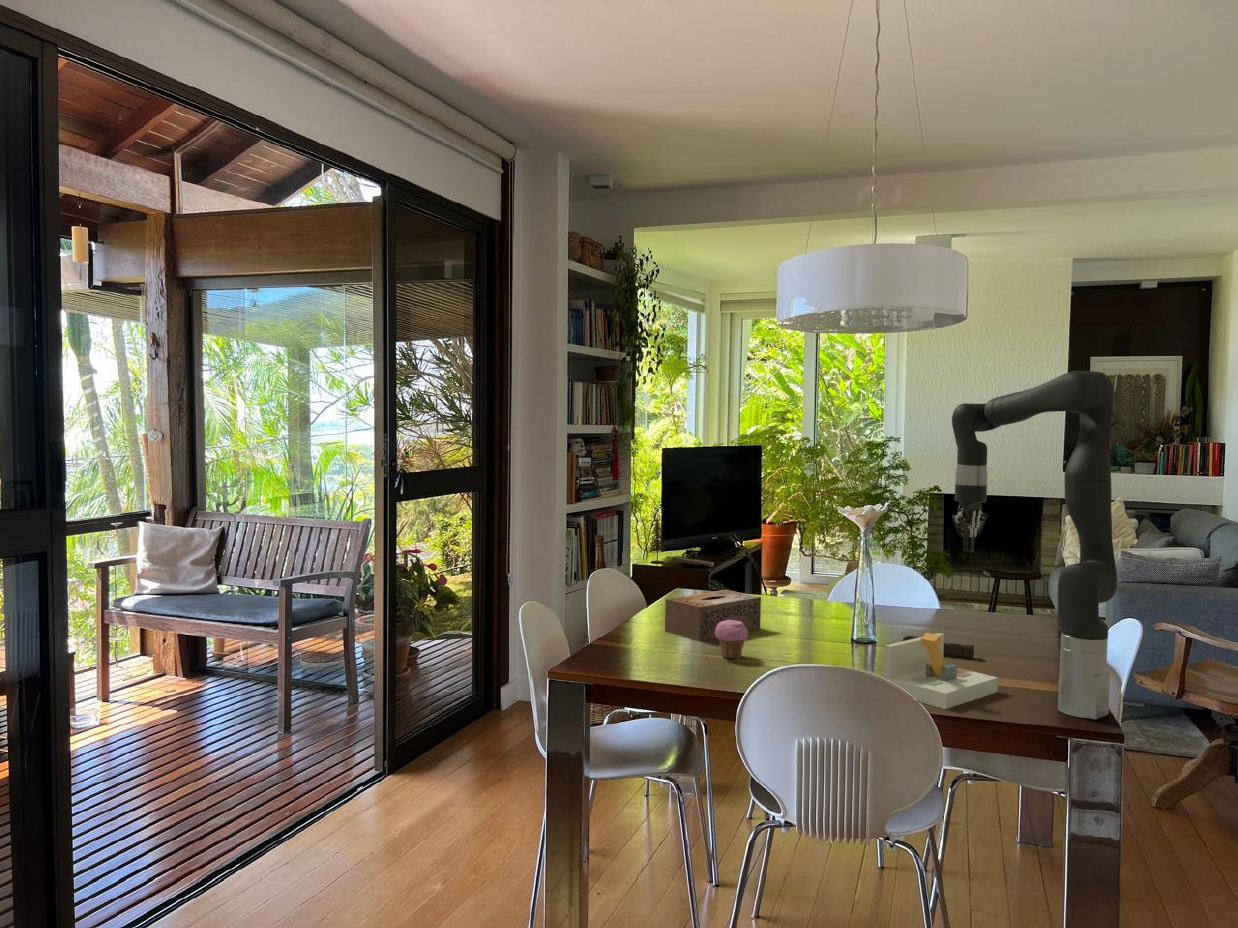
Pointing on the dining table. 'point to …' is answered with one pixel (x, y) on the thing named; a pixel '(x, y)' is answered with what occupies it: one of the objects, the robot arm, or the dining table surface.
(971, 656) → the hand tool
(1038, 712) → the dining table surface
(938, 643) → the lever
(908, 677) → the white switch base
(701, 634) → the tissue box cover
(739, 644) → the cupcake
